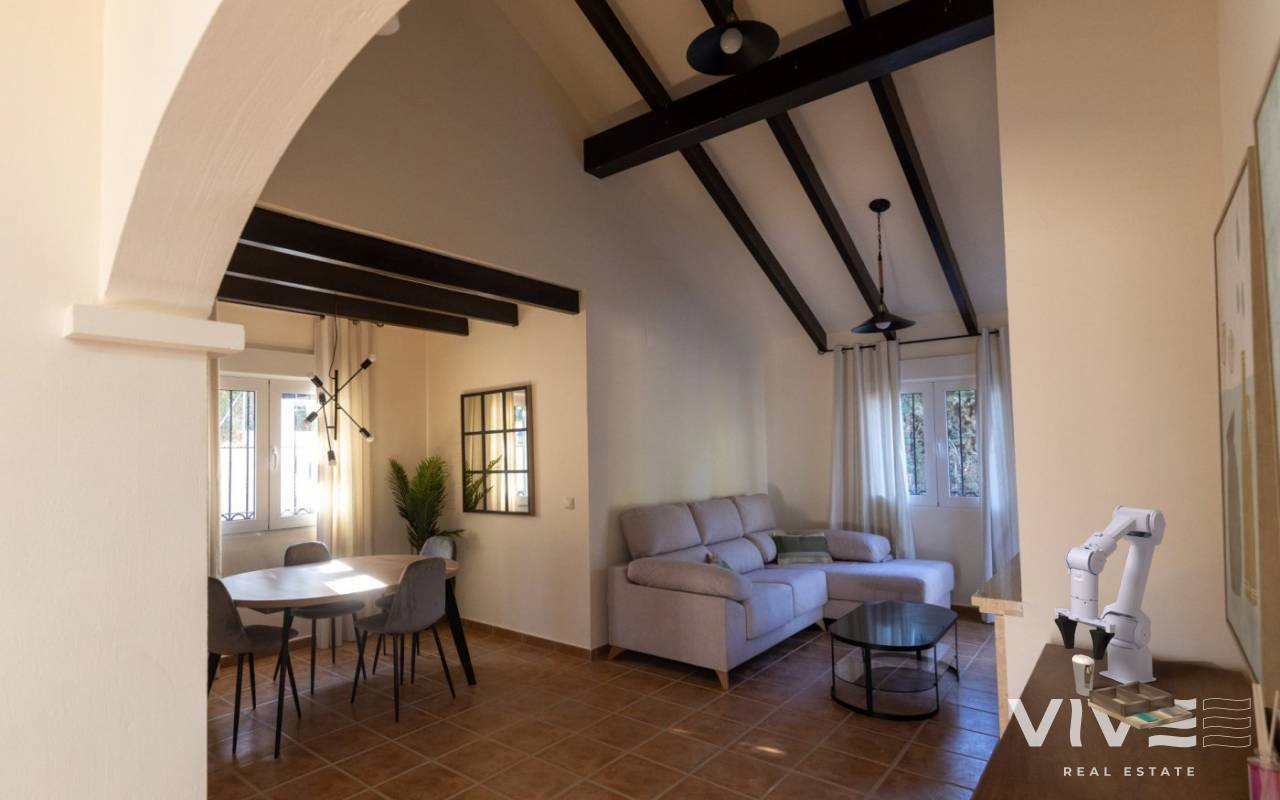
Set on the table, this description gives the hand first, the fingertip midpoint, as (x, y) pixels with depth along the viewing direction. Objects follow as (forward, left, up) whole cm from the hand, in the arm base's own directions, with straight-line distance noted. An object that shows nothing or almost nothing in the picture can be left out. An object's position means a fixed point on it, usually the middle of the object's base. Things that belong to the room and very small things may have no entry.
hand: (1083, 653), depth 161 cm
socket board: (-3, +11, -10) cm, 15 cm away
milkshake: (0, 0, -10) cm, 10 cm away
